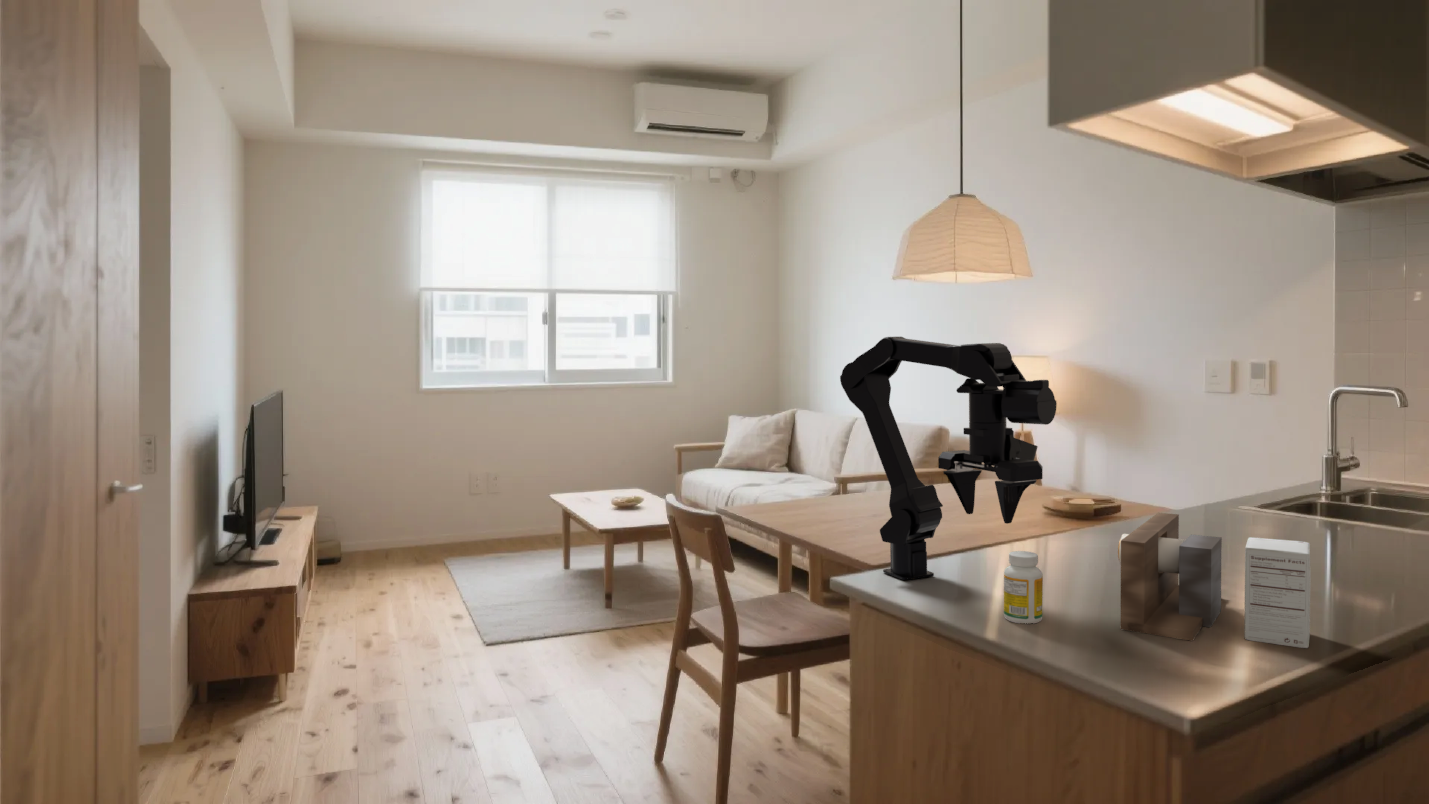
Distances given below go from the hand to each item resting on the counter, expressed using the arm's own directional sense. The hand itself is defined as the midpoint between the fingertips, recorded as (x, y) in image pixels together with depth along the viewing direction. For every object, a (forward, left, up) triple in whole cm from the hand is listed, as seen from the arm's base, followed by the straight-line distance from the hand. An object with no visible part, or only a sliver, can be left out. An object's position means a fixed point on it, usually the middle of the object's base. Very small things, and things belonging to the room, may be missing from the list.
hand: (988, 518), depth 145 cm
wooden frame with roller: (+22, +16, -12) cm, 29 cm away
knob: (+19, +14, -6) cm, 24 cm away
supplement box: (+35, +19, -12) cm, 42 cm away
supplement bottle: (+14, -5, -12) cm, 19 cm away
